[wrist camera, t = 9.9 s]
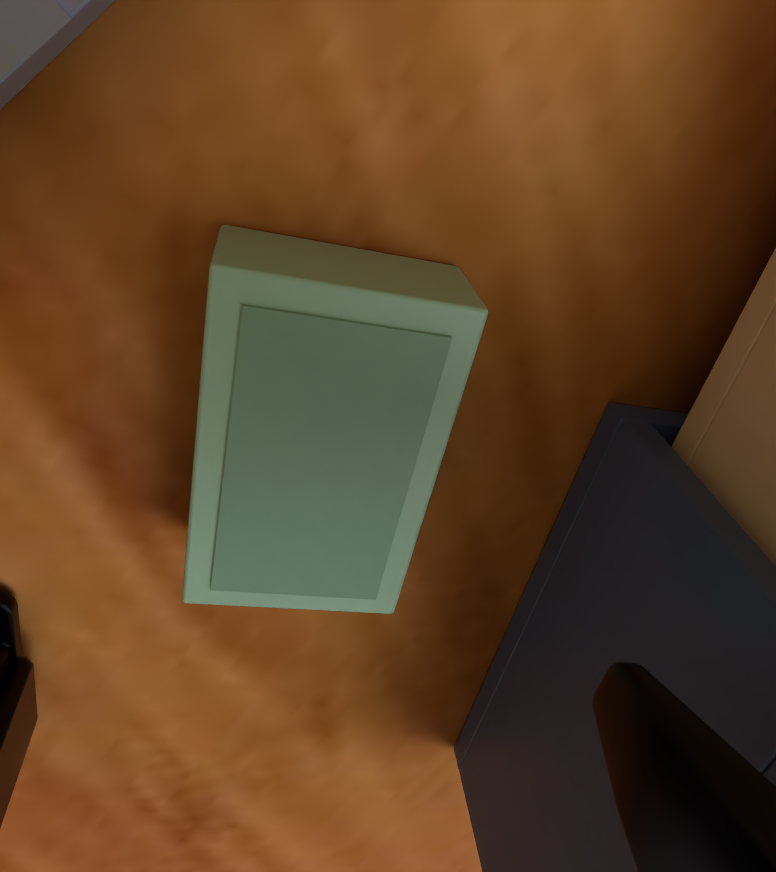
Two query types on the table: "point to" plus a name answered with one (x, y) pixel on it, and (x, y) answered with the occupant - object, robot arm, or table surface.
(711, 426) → the drawer
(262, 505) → the green rectangular block
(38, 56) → the remote control
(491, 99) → the table surface
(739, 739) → the cabinet
